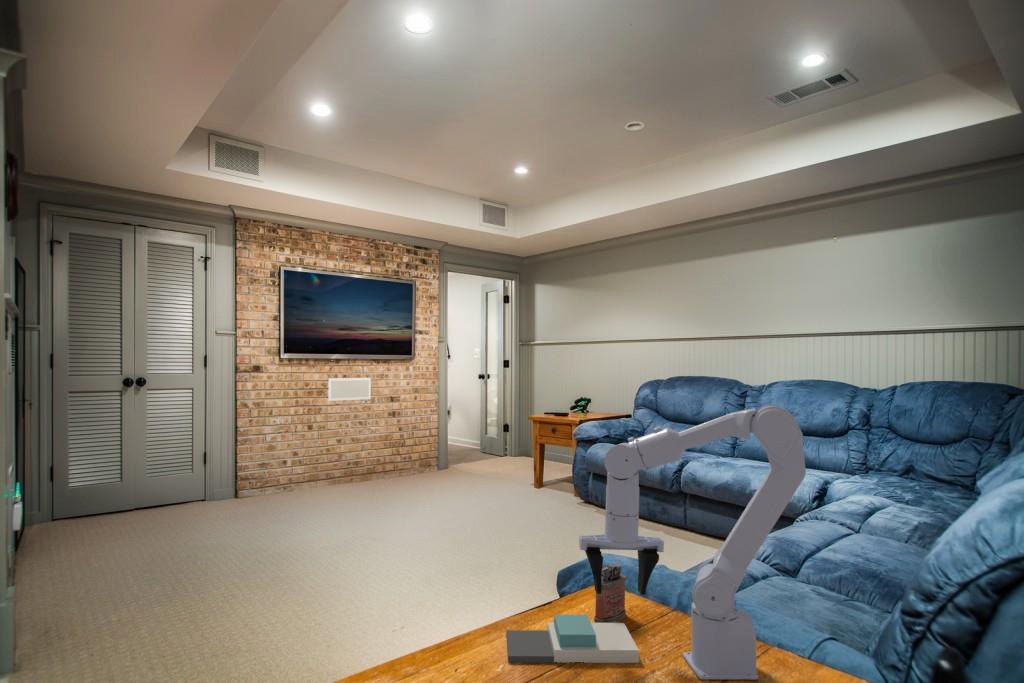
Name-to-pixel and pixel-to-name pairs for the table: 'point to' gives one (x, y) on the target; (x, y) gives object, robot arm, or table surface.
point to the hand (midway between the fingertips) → (619, 592)
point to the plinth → (598, 646)
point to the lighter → (611, 596)
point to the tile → (574, 631)
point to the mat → (529, 646)
